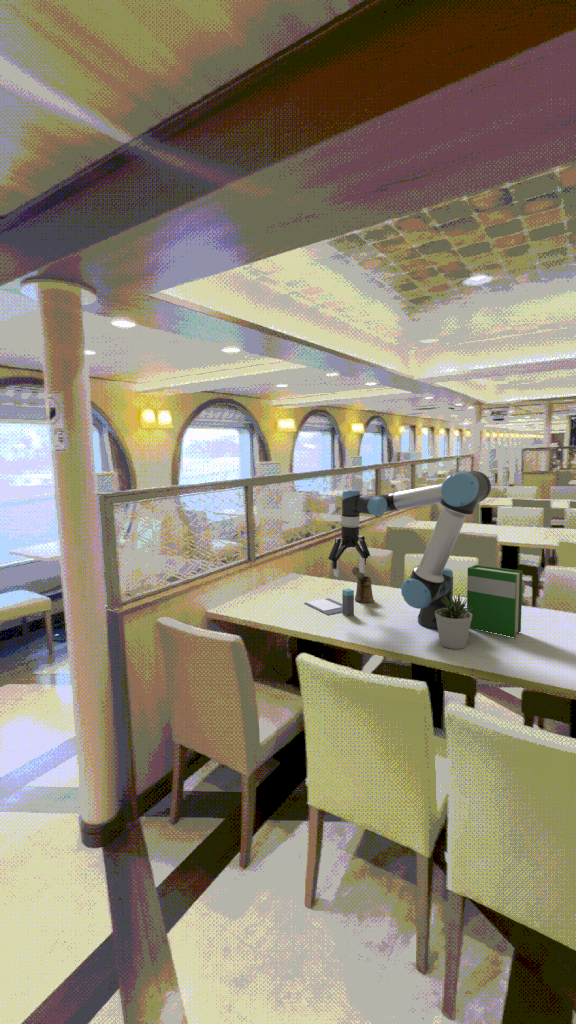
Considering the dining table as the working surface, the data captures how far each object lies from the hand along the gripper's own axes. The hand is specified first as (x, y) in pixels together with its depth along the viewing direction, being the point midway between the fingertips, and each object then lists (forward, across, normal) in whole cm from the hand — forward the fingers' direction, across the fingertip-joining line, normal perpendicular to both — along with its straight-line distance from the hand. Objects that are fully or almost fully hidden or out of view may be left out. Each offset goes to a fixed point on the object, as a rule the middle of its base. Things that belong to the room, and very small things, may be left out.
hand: (349, 574), depth 196 cm
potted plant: (+16, -12, +48) cm, 52 cm away
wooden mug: (+18, -16, -12) cm, 27 cm away
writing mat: (+18, +2, -13) cm, 23 cm away
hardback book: (+16, -36, +45) cm, 60 cm away
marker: (+18, +1, +1) cm, 18 cm away
